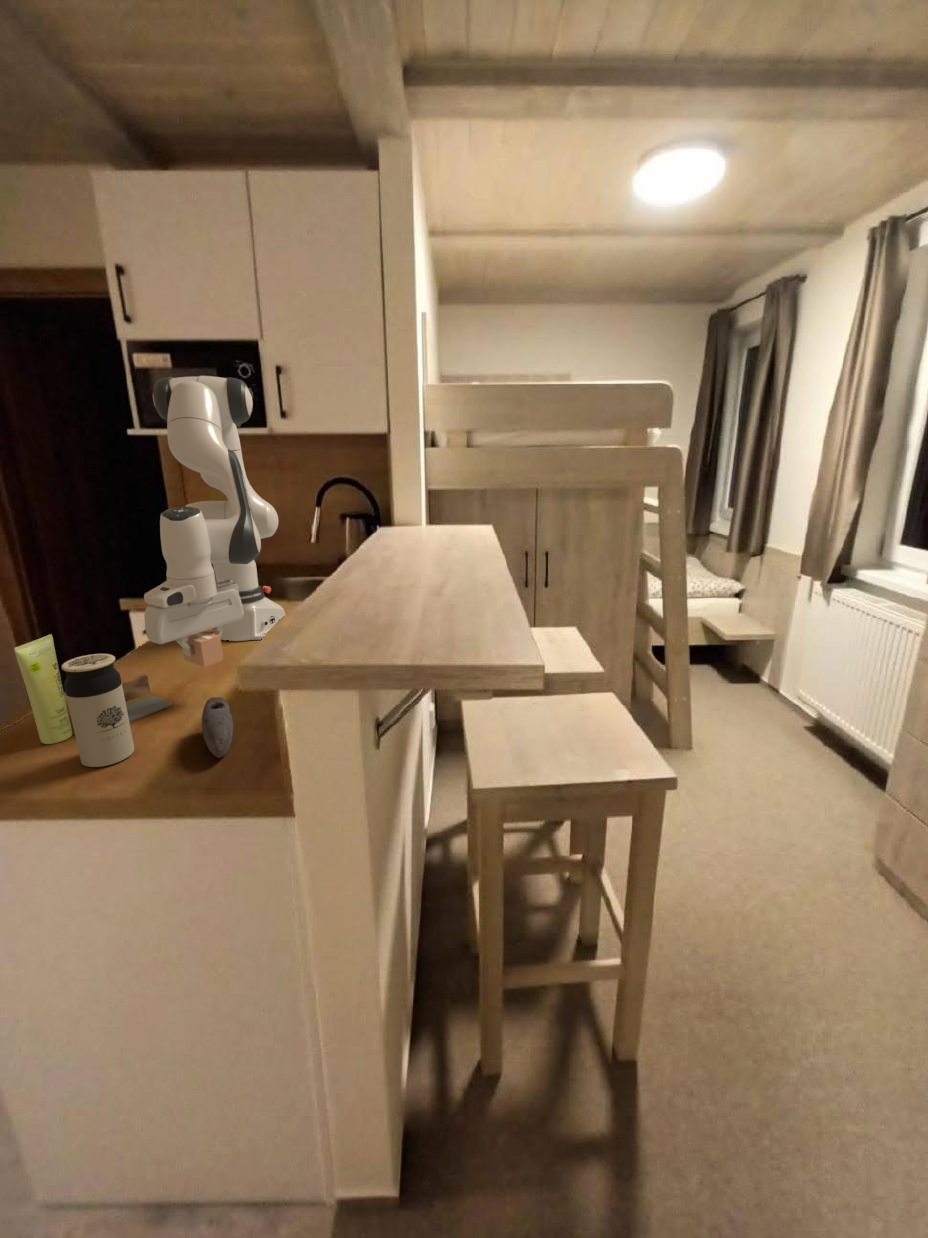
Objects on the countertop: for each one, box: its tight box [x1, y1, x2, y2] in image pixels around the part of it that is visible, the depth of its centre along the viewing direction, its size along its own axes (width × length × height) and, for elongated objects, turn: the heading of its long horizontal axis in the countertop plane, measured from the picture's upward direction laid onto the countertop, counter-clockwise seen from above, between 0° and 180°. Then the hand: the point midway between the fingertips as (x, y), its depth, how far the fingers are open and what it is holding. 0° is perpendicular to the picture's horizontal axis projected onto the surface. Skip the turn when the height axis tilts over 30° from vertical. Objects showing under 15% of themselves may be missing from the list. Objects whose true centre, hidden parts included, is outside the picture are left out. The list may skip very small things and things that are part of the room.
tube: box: [13, 633, 74, 745], centre depth 99 cm, size 6×5×20 cm
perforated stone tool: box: [201, 696, 234, 759], centre depth 99 cm, size 15×5×7 cm, turn 23°
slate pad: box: [126, 695, 174, 723], centre depth 113 cm, size 10×8×1 cm
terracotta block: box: [182, 630, 224, 668], centre depth 116 cm, size 4×7×6 cm, turn 58°
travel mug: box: [61, 653, 135, 768], centre depth 93 cm, size 8×8×18 cm
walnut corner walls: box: [121, 674, 151, 702], centre depth 113 cm, size 15×14×4 cm
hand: (202, 650), depth 116 cm, fingers closed on terracotta block, 4 cm apart
